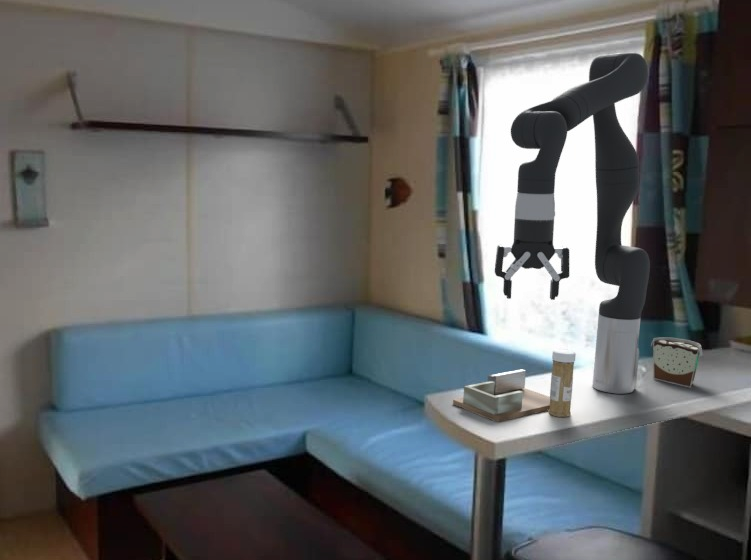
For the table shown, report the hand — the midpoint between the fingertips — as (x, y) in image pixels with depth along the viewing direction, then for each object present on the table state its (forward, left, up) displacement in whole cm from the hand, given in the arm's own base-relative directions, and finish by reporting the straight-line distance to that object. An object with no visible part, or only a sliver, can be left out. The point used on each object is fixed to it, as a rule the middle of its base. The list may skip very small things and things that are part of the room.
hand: (530, 298), depth 155 cm
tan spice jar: (-9, +2, -25) cm, 26 cm away
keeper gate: (-8, -12, -23) cm, 27 cm away
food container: (-55, 0, -25) cm, 60 cm away
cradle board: (-4, -7, -25) cm, 26 cm away
